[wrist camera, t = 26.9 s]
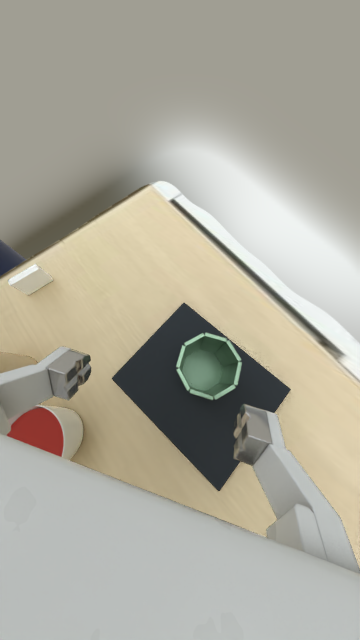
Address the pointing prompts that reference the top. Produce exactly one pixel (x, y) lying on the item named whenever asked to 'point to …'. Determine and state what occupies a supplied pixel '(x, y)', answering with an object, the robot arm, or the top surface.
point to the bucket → (209, 366)
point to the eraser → (30, 279)
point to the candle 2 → (49, 429)
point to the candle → (14, 361)
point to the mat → (195, 396)
